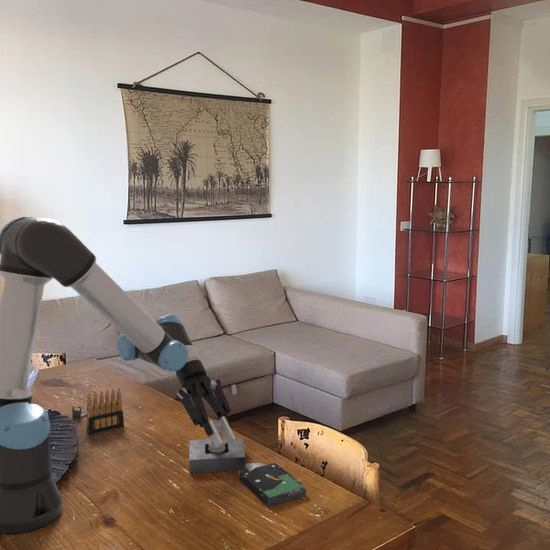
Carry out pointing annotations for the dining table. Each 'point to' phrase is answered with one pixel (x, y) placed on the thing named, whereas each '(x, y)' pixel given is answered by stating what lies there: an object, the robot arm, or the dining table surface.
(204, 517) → the dining table surface
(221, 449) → the rook chess piece
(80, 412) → the strap clip
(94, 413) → the ammunition clip
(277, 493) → the disk drive
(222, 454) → the grey square-hole block
